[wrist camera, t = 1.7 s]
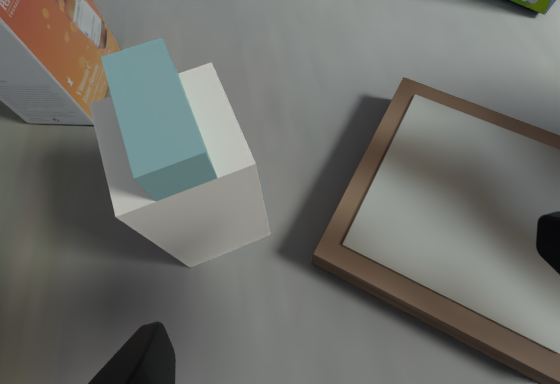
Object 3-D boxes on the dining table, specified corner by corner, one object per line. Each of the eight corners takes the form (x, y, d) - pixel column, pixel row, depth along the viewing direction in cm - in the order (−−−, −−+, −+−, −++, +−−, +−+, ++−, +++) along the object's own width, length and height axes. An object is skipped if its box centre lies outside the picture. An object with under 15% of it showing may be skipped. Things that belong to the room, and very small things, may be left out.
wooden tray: (543, 385, 19) (582, 392, 16) (311, 262, 22) (313, 253, 19) (591, 177, 23) (626, 158, 21) (393, 100, 26) (404, 75, 24)
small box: (98, 128, 26) (-16, 4, 16) (27, 125, 26) (-126, 3, 17) (123, 47, 29) (39, -96, 20) (59, 46, 30) (-54, -96, 20)
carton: (270, 234, 22) (249, 135, 11) (190, 267, 22) (85, 196, 11) (241, 165, 25) (200, 24, 13) (167, 193, 24) (59, 70, 13)
